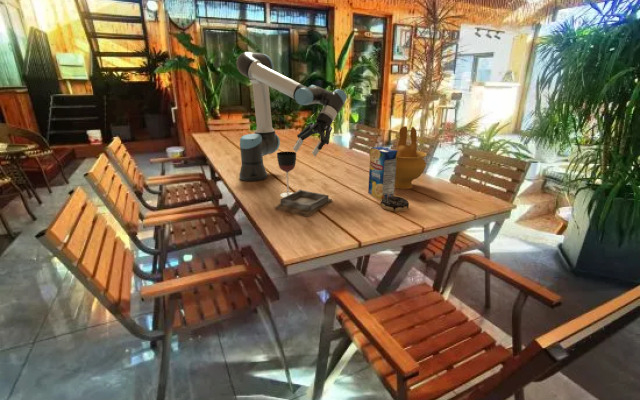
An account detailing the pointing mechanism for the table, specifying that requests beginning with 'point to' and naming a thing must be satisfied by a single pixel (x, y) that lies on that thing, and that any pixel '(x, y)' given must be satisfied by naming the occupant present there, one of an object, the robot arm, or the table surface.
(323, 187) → the table surface
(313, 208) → the tray
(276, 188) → the table surface
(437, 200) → the table surface
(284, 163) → the wineglass
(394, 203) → the donut
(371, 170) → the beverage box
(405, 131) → the decorative bowl
